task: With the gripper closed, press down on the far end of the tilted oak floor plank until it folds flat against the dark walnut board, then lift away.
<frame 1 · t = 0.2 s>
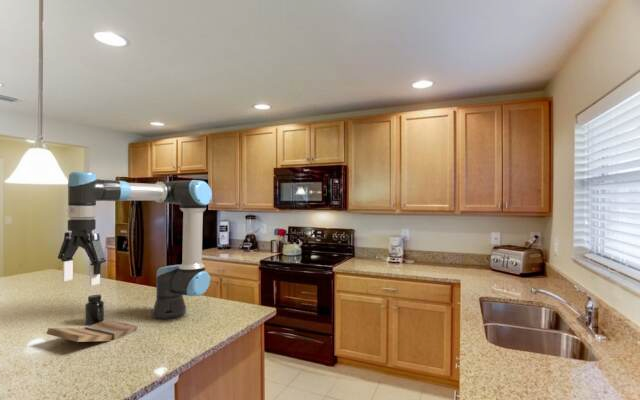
hand: (81, 282, 108), 27 cm above the counter, tool pointing down, fingers open, 13 cm apart
supplement bottle: (94, 323, 145), on the counter
walnut board: (110, 331, 135), on the counter
oak plank: (80, 334, 124), point 3 cm above the counter, hinge at 20.0°
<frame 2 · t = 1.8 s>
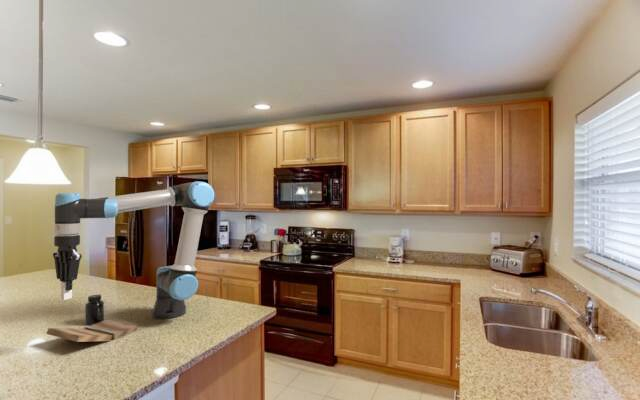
hand: (66, 298, 120), 18 cm above the counter, tool pointing down, fingers closed
nothing on the counter moved.
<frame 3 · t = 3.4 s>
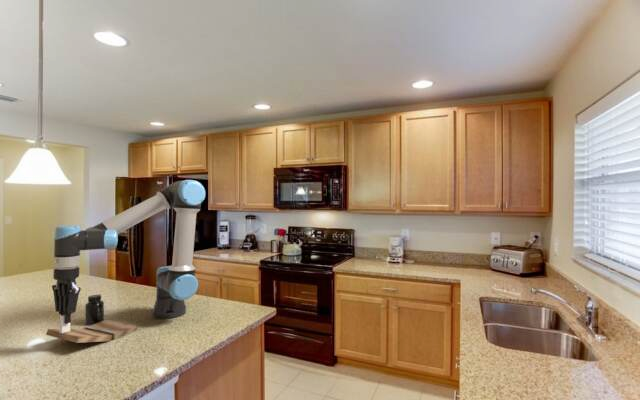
hand: (64, 331, 119), 6 cm above the counter, tool pointing down, fingers closed
oak plank: (79, 335, 124), point 3 cm above the counter, hinge at 18.5°, touching gripper
everything else where it was.
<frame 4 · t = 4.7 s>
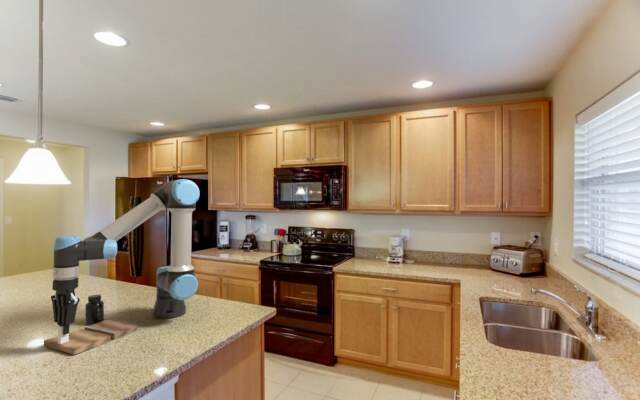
hand: (63, 342, 119), 2 cm above the counter, tool pointing down, fingers closed
oak plank: (78, 340, 123), point 1 cm above the counter, hinge at 1.5°, touching gripper
everything else where it was.
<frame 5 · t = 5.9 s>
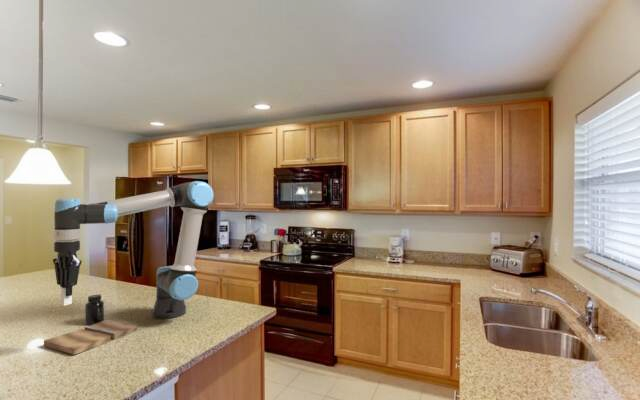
hand: (66, 304, 120), 16 cm above the counter, tool pointing down, fingers closed
oak plank: (78, 340, 123), point 1 cm above the counter, hinge at 1.5°
everything else where it was.
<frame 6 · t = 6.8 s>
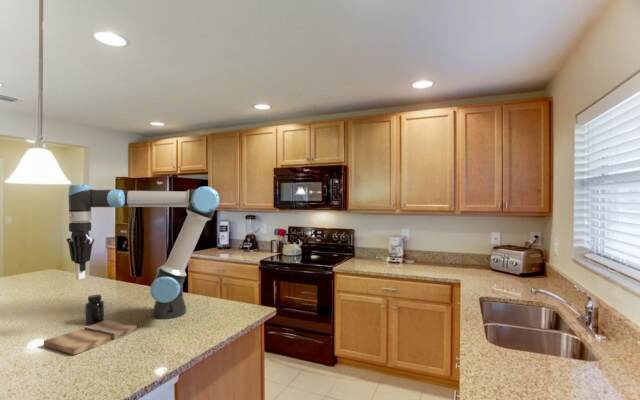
hand: (80, 278, 134), 22 cm above the counter, tool pointing down, fingers closed
nothing on the counter moved.
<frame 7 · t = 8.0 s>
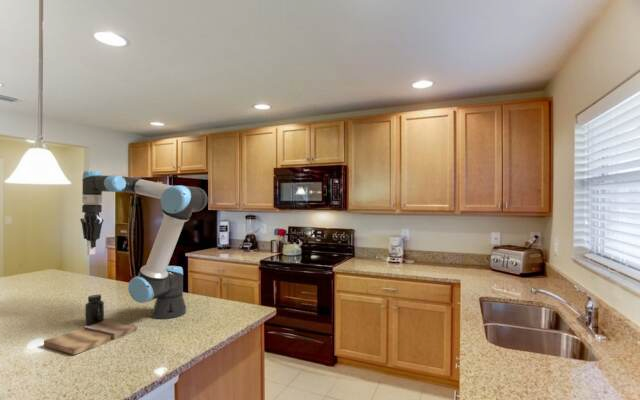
hand: (91, 254, 152), 29 cm above the counter, tool pointing down, fingers closed
nothing on the counter moved.
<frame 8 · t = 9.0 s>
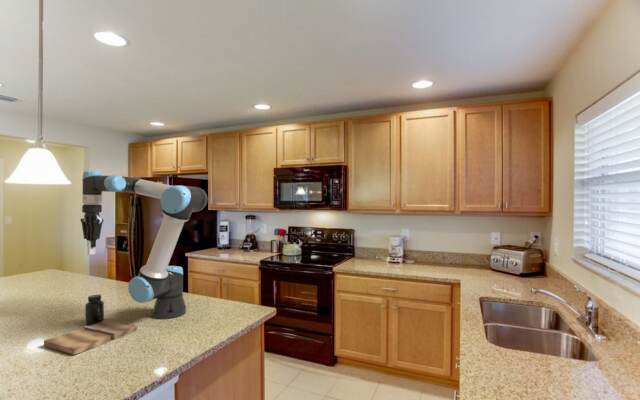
hand: (91, 254, 152), 29 cm above the counter, tool pointing down, fingers closed
nothing on the counter moved.
at the end: oak plank at +2° (first picture: +20°); supplement bottle moved 0.2 cm from its start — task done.
